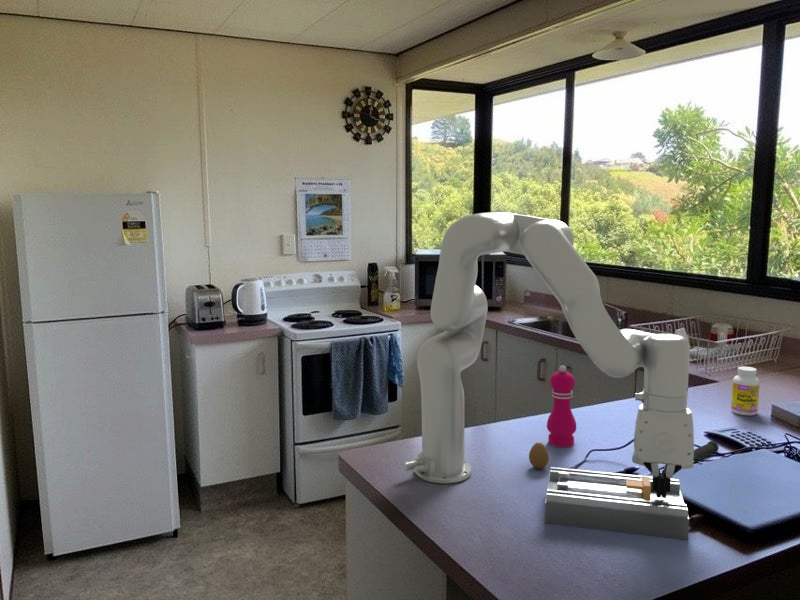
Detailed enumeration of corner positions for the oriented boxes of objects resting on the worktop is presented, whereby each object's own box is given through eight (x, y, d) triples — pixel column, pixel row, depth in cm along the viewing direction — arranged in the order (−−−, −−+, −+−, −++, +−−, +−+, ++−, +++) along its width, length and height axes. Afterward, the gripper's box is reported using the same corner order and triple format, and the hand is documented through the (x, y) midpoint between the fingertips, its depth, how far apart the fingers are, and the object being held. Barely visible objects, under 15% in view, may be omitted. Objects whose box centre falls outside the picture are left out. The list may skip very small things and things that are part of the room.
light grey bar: (559, 491, 125) (559, 485, 125) (560, 484, 128) (560, 479, 128) (641, 499, 121) (642, 494, 120) (640, 492, 124) (640, 487, 124)
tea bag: (687, 353, 251) (689, 328, 250) (679, 356, 247) (680, 331, 246) (678, 352, 254) (679, 327, 253) (670, 354, 250) (671, 329, 248)
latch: (626, 498, 121) (626, 483, 120) (625, 488, 125) (625, 474, 125) (650, 501, 120) (650, 486, 119) (648, 491, 124) (648, 476, 123)
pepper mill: (577, 449, 157) (579, 369, 154) (546, 447, 158) (548, 368, 155) (575, 438, 164) (576, 362, 161) (546, 436, 165) (547, 361, 162)
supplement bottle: (732, 414, 180) (734, 370, 178) (729, 407, 186) (732, 364, 184) (759, 417, 177) (762, 372, 175) (755, 410, 183) (758, 366, 181)
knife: (707, 445, 156) (713, 437, 155) (721, 460, 153) (728, 453, 152) (640, 467, 144) (646, 459, 142) (655, 484, 141) (661, 476, 139)
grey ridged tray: (544, 522, 121) (545, 491, 120) (549, 490, 134) (549, 462, 133) (688, 540, 114) (689, 507, 113) (678, 504, 127) (679, 475, 126)
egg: (538, 473, 143) (538, 448, 142) (524, 466, 147) (524, 441, 146) (552, 469, 145) (553, 443, 144) (538, 462, 149) (539, 437, 148)
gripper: (623, 404, 117) (619, 499, 120) (712, 410, 113) (707, 508, 115) (621, 392, 124) (618, 482, 127) (705, 397, 120) (700, 490, 123)
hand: (660, 494), depth 121 cm, fingers closed
